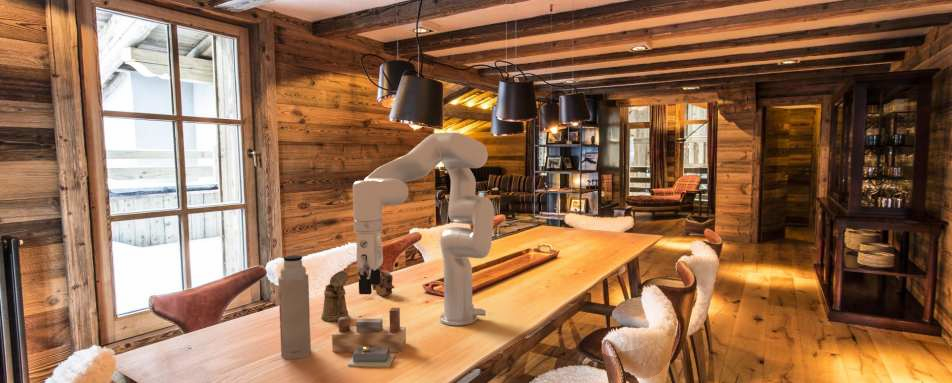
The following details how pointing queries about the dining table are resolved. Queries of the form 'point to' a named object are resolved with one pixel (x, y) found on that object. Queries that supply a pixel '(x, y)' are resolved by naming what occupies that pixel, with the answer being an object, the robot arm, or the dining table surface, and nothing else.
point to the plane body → (369, 334)
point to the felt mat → (372, 363)
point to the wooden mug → (335, 298)
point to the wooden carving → (384, 284)
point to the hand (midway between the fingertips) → (370, 289)
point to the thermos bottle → (294, 309)
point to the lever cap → (371, 354)
